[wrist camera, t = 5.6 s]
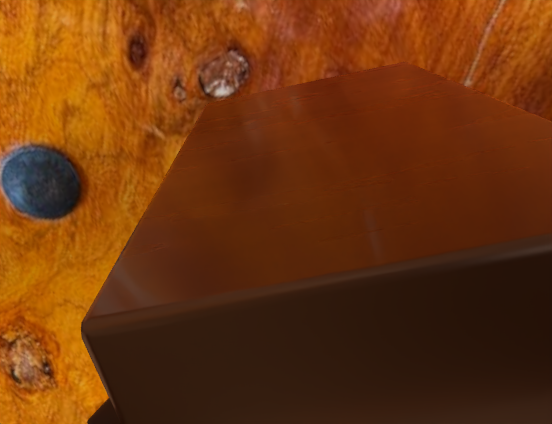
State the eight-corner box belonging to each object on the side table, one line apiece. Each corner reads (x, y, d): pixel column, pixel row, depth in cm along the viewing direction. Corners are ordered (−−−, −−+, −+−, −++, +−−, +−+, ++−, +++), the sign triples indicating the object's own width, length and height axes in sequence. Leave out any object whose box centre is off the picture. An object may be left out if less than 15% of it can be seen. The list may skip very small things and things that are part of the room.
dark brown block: (269, 374, 12) (276, 795, 6) (196, 104, 9) (45, 332, 3) (431, 346, 12) (632, 753, 5) (407, 60, 9) (767, 201, 3)
